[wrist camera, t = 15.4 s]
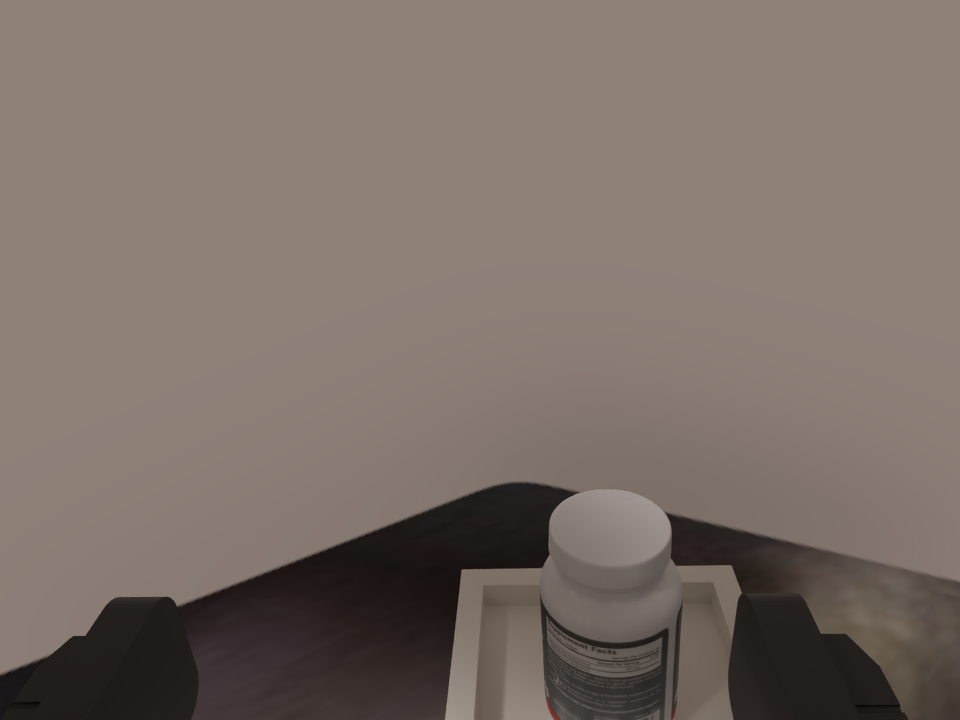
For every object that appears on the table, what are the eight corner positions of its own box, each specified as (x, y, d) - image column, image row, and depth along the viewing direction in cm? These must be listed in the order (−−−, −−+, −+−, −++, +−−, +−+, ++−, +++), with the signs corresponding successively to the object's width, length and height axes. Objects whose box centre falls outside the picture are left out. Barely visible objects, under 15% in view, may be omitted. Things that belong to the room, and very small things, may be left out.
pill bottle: (586, 634, 36) (585, 465, 32) (697, 688, 33) (711, 508, 28) (519, 717, 32) (507, 537, 28) (637, 789, 29) (644, 597, 24)
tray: (437, 873, 27) (431, 840, 26) (464, 598, 40) (461, 569, 39) (828, 880, 26) (836, 845, 25) (728, 594, 38) (731, 565, 38)
